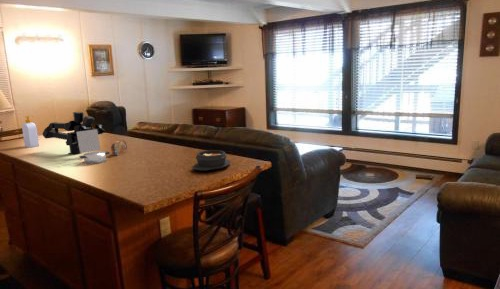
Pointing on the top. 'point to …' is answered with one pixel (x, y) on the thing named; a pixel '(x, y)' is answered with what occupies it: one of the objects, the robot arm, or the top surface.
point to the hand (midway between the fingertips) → (99, 132)
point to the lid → (88, 141)
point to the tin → (119, 147)
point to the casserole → (210, 160)
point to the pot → (94, 157)
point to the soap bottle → (30, 134)
